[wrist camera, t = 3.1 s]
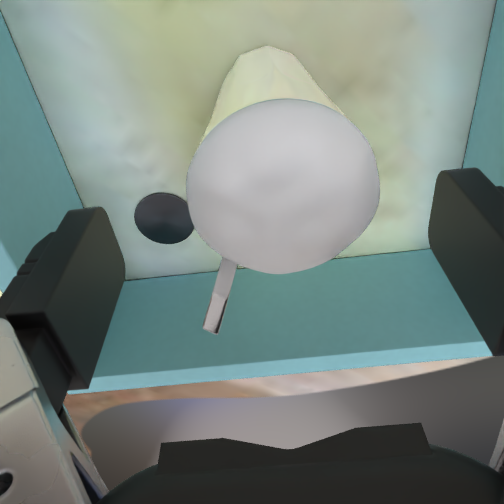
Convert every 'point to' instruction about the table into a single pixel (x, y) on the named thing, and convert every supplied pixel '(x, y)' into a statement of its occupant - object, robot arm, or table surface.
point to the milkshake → (277, 174)
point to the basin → (245, 270)
